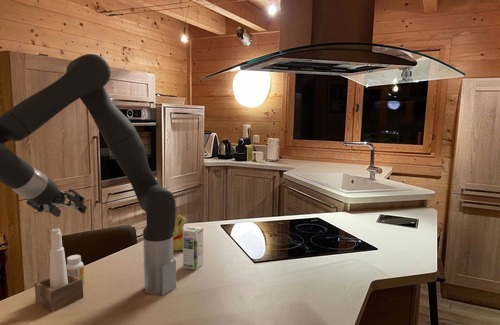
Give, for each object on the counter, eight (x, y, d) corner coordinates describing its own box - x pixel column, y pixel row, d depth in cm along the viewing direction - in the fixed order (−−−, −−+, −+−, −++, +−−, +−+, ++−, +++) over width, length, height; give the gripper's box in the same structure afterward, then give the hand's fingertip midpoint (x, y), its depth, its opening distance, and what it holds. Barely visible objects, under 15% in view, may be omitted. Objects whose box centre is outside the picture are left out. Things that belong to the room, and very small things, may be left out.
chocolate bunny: (164, 249, 148) (163, 214, 146) (190, 245, 152) (189, 211, 150) (168, 255, 142) (167, 218, 140) (194, 251, 146) (194, 215, 144)
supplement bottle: (79, 280, 119) (78, 252, 118) (87, 285, 116) (86, 256, 115) (63, 285, 115) (61, 257, 114) (70, 291, 112) (69, 261, 111)
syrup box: (182, 268, 130) (181, 229, 128) (190, 261, 135) (190, 225, 133) (196, 270, 128) (195, 231, 126) (203, 264, 133) (203, 227, 132)
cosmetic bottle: (49, 307, 102) (45, 234, 99) (47, 298, 107) (42, 228, 104) (72, 301, 106) (69, 230, 103) (69, 293, 110) (65, 225, 108)
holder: (83, 297, 108) (82, 279, 107) (53, 311, 100) (52, 291, 99) (65, 289, 113) (64, 271, 112) (35, 302, 105) (34, 283, 104)
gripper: (61, 169, 94) (96, 198, 107) (15, 177, 96) (54, 203, 109) (53, 194, 89) (90, 221, 103) (4, 201, 92) (47, 226, 105)
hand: (71, 212), depth 106 cm, fingers open, 8 cm apart
